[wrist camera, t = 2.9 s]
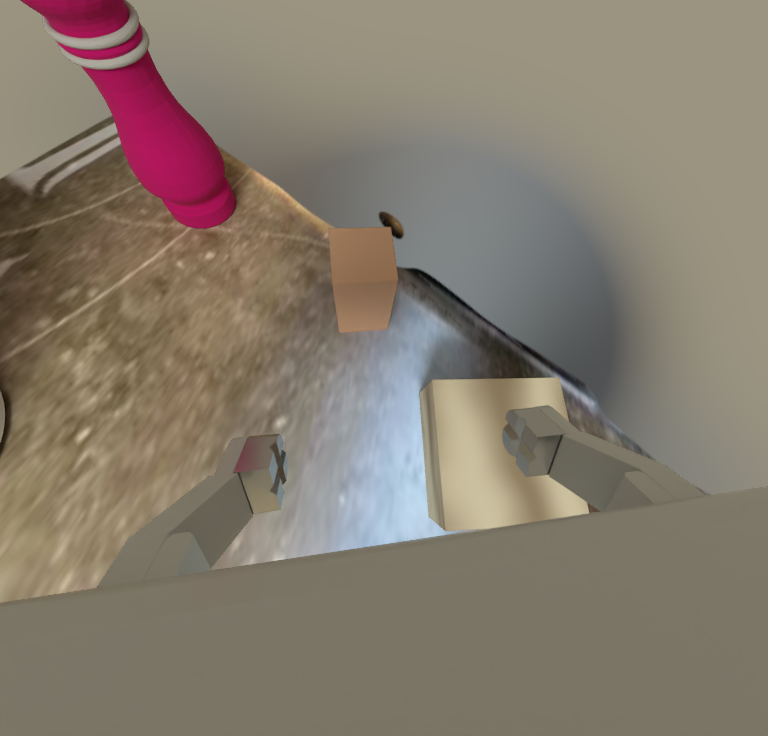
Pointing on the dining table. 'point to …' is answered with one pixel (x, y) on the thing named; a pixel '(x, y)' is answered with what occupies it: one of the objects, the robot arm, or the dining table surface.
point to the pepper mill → (143, 107)
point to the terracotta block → (363, 277)
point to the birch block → (486, 455)
